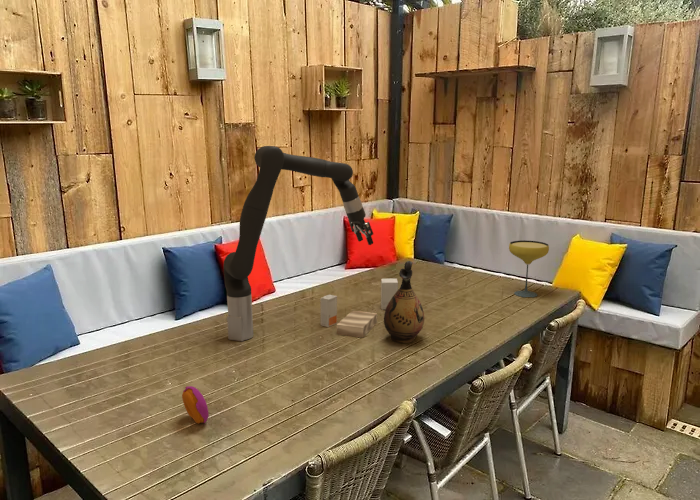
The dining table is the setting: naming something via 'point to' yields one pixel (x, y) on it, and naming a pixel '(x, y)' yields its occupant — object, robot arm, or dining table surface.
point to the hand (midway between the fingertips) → (365, 242)
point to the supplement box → (388, 291)
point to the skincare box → (328, 310)
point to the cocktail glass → (528, 257)
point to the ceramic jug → (404, 311)
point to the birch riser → (357, 323)
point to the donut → (195, 404)
